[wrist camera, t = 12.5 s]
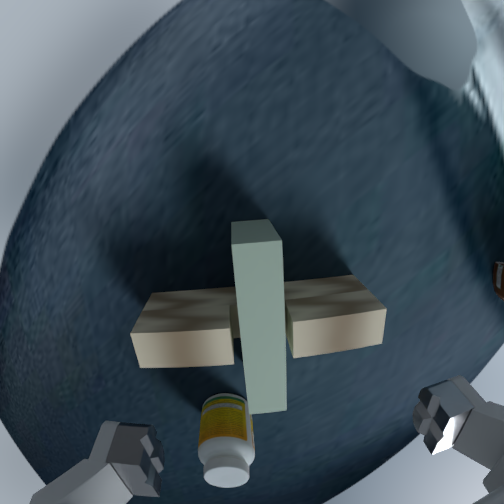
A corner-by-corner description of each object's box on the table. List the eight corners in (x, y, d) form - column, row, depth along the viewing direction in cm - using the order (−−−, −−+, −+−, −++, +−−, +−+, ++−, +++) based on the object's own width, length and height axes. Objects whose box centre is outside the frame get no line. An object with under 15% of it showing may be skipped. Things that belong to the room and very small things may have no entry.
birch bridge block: (158, 322, 27) (140, 367, 21) (152, 292, 26) (130, 333, 20) (351, 304, 28) (381, 343, 21) (353, 274, 27) (386, 308, 21)
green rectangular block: (231, 222, 25) (231, 244, 18) (268, 218, 25) (281, 240, 19) (245, 364, 29) (249, 414, 22) (275, 361, 29) (286, 410, 23)
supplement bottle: (259, 412, 31) (268, 481, 22) (220, 429, 32) (219, 495, 23) (233, 383, 30) (235, 456, 21) (191, 402, 30) (183, 472, 21)
